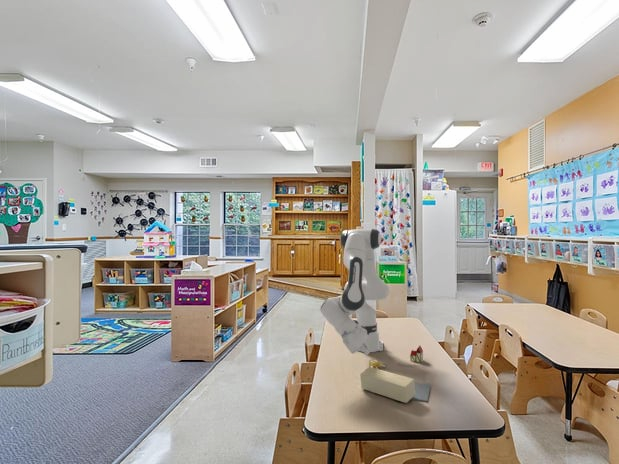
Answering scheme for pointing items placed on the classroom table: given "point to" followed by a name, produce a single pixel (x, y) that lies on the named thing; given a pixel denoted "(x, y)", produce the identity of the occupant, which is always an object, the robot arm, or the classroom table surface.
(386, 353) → the classroom table surface
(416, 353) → the toy house
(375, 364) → the character toy
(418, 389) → the mat
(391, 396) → the toy refrigerator
